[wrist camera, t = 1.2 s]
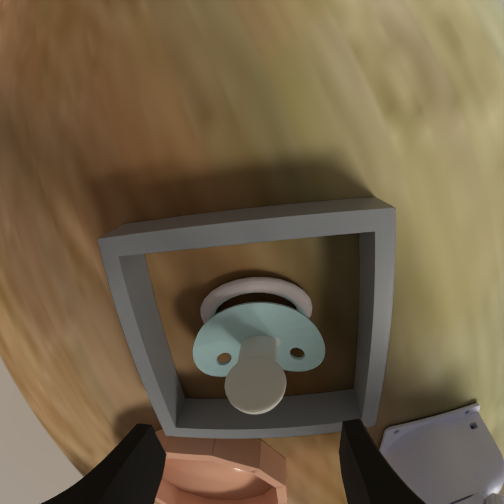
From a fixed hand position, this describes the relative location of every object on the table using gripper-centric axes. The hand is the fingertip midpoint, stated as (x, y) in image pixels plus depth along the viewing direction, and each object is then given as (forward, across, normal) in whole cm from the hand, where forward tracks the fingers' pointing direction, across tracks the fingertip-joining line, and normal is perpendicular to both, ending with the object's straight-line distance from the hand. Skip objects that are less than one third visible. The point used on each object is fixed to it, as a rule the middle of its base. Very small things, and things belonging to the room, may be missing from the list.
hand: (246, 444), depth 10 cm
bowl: (+9, +6, +16) cm, 19 cm away
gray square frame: (+9, 0, 0) cm, 9 cm away
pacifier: (+9, 0, 0) cm, 9 cm away
